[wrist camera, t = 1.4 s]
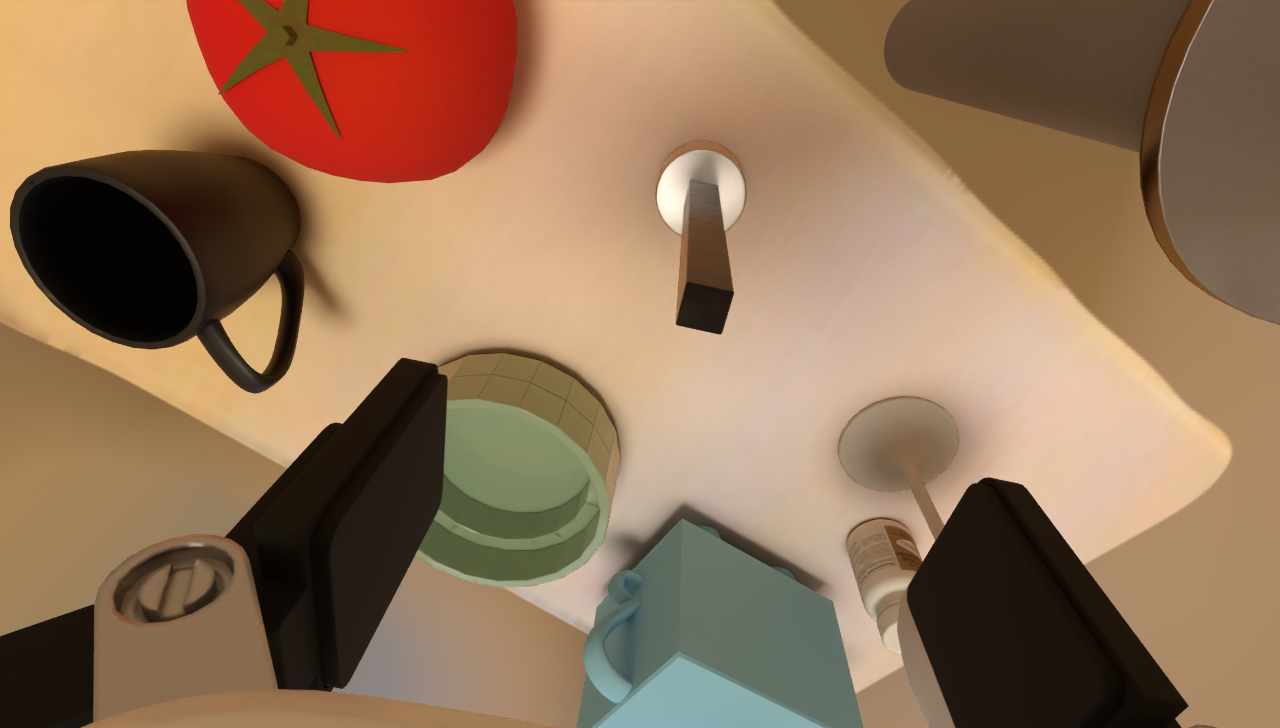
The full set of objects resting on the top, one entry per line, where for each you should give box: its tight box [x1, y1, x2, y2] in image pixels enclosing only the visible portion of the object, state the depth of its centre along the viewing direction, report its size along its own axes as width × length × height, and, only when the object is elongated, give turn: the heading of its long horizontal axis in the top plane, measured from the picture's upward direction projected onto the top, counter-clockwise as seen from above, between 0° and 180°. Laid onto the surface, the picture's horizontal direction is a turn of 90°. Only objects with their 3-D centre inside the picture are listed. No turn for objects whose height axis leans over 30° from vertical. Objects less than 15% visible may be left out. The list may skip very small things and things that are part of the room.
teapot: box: [577, 519, 863, 728], centre depth 40 cm, size 22×11×14 cm, turn 57°
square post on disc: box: [656, 141, 746, 334], centre depth 24 cm, size 4×4×16 cm
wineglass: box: [838, 397, 959, 728], centre depth 29 cm, size 8×8×21 cm
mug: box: [10, 150, 304, 393], centre depth 30 cm, size 8×12×10 cm
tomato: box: [187, 0, 517, 183], centre depth 24 cm, size 11×12×10 cm
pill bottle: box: [847, 519, 923, 655], centre depth 39 cm, size 4×4×8 cm
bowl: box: [415, 353, 620, 587], centre depth 38 cm, size 14×14×6 cm
